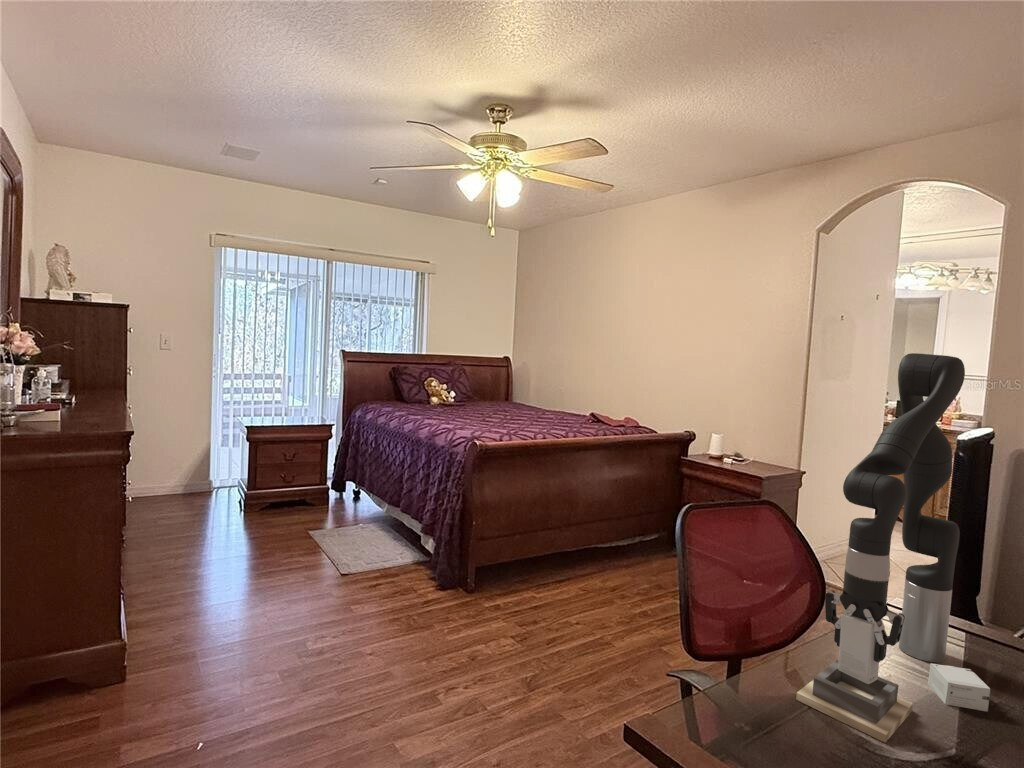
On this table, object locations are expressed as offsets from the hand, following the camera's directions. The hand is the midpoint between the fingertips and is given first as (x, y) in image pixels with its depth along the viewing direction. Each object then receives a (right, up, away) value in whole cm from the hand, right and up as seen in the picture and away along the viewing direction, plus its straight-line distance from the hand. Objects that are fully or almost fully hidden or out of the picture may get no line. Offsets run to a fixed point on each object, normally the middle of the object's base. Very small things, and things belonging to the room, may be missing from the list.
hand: (859, 652), depth 117 cm
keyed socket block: (-1, -11, +1) cm, 11 cm away
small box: (+24, -12, +6) cm, 28 cm away
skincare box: (0, -5, 0) cm, 5 cm away
